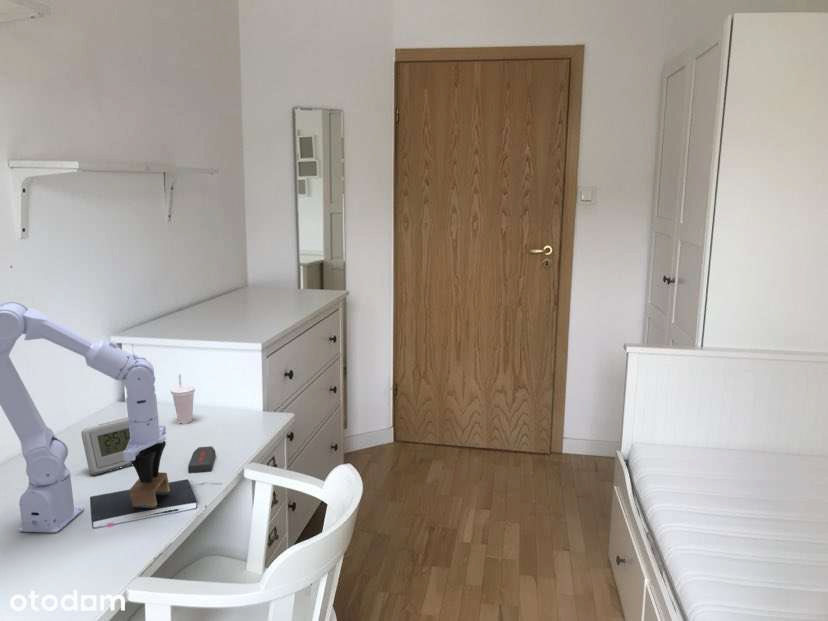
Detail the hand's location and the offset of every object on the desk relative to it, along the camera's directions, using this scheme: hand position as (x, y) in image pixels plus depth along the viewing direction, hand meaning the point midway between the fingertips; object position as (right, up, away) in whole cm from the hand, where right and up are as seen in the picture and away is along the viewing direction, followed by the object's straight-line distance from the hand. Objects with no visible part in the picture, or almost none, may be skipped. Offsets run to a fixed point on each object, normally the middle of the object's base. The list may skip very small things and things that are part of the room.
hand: (149, 479), depth 137 cm
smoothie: (-10, +4, +49) cm, 50 cm away
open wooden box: (0, -4, -2) cm, 5 cm away
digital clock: (-15, -2, +20) cm, 25 cm away
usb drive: (+5, -2, +21) cm, 22 cm away
